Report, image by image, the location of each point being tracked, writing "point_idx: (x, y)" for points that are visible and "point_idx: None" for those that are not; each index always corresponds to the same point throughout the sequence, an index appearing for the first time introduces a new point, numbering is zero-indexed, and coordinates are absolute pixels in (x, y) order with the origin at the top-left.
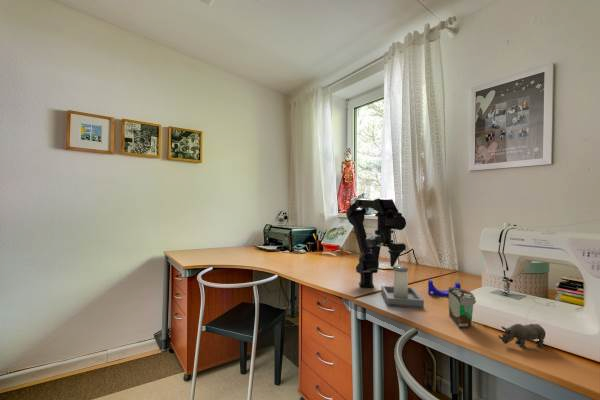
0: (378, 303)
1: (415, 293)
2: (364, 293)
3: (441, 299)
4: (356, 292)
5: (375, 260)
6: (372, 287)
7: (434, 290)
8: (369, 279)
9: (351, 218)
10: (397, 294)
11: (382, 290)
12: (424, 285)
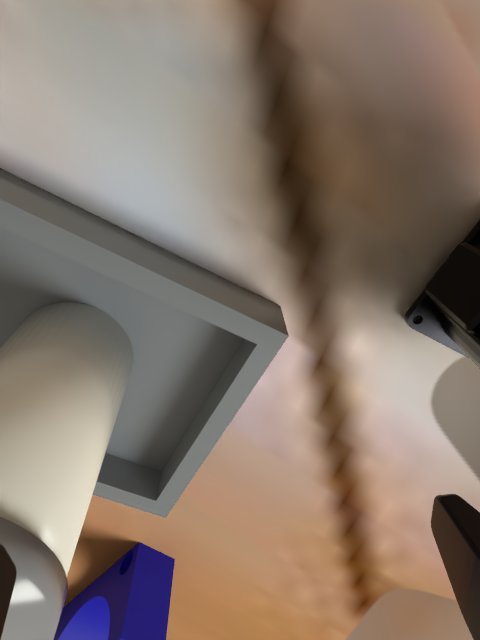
0: (23, 96)
1: None
2: (321, 137)
3: None
4: (385, 64)
5: (459, 523)
6: (412, 306)
7: (113, 589)
8: (462, 312)
9: None
10: (28, 324)
11: (226, 295)
12: (292, 608)
